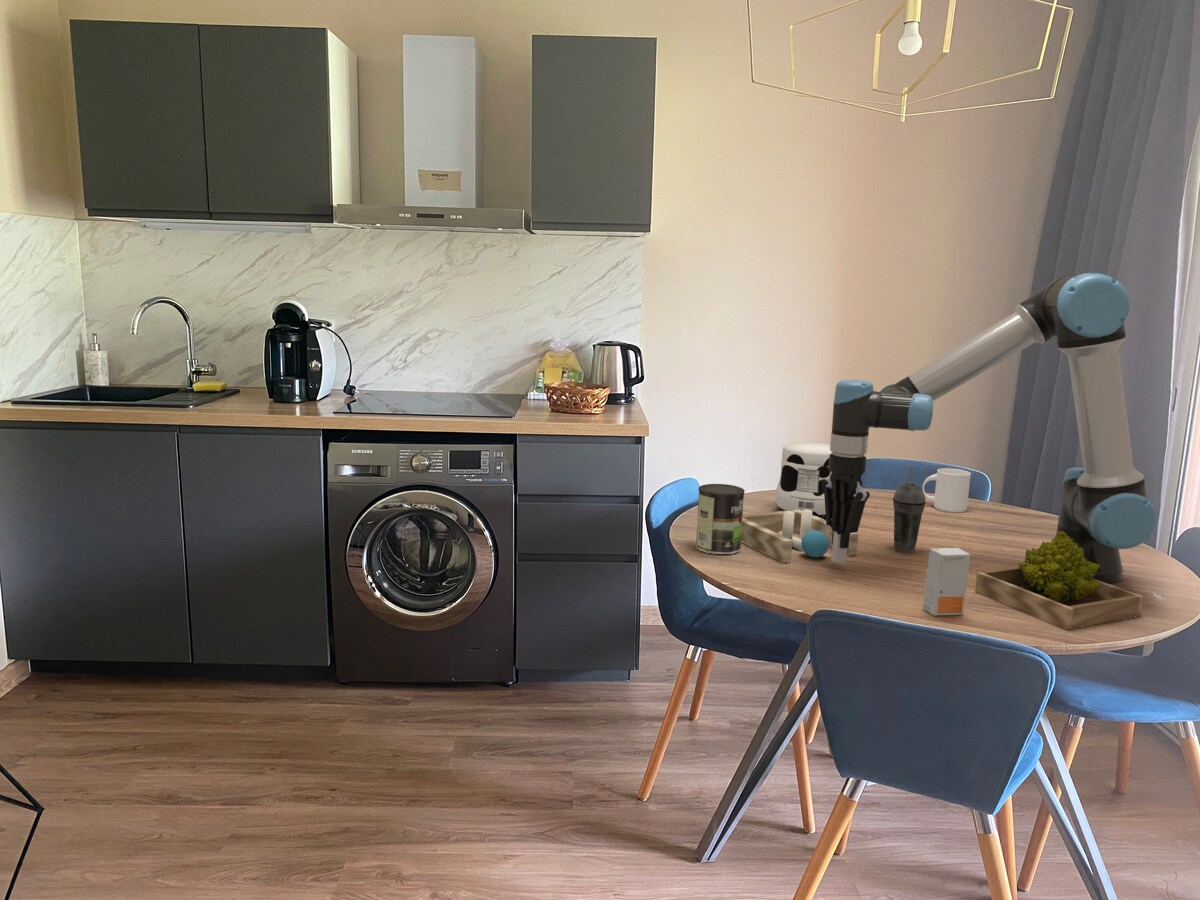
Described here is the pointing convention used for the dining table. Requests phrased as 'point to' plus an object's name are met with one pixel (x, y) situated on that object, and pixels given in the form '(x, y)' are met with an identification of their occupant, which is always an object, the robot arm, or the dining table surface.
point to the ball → (815, 544)
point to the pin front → (795, 542)
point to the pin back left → (788, 524)
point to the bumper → (764, 535)
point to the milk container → (803, 477)
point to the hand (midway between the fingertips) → (838, 561)
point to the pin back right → (805, 522)
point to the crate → (1106, 608)
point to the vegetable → (1059, 570)
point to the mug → (950, 489)
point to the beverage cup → (907, 515)
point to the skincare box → (946, 581)
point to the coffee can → (719, 518)
